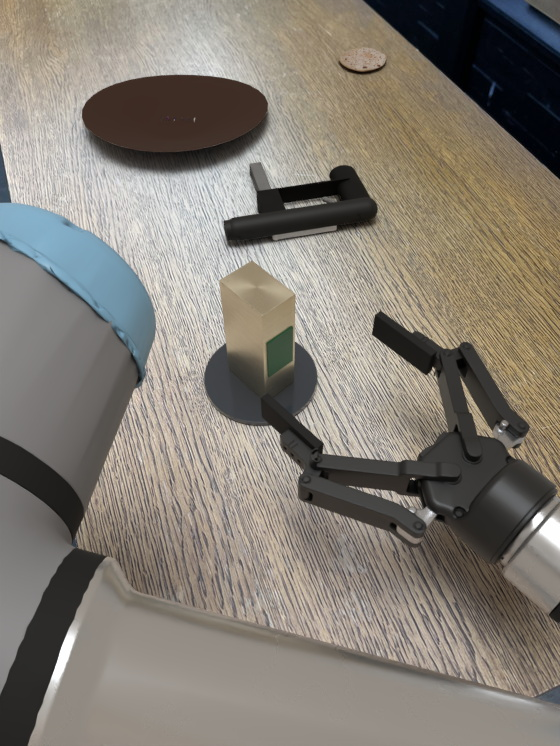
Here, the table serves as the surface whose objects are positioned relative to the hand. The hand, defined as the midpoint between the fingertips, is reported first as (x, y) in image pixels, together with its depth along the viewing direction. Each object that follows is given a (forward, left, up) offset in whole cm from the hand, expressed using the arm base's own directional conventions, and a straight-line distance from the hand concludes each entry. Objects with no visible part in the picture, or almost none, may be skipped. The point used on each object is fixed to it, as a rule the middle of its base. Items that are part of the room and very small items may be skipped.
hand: (322, 361), depth 57 cm
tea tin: (-9, 0, -10) cm, 13 cm away
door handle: (-28, +23, -11) cm, 38 cm away
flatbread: (-48, +58, -11) cm, 76 cm away
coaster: (-9, 0, -11) cm, 14 cm away
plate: (-55, +24, -11) cm, 61 cm away
